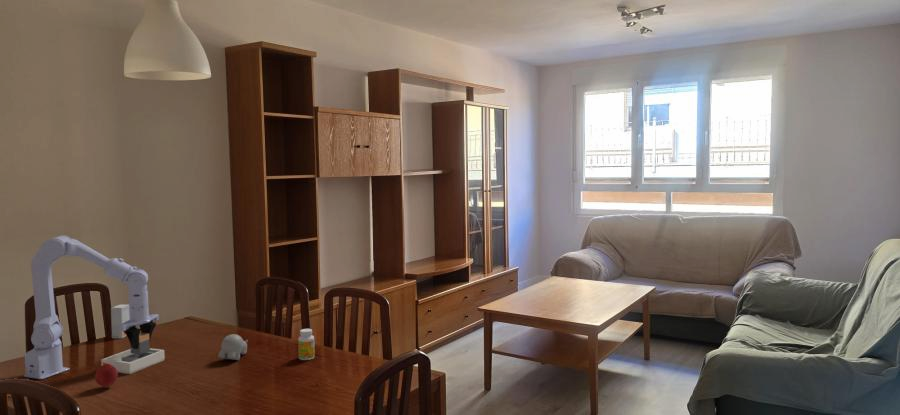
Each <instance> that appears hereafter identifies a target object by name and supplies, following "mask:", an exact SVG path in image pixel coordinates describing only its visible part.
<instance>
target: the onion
mask: <svg viewBox="0 0 900 415" xmlns="http://www.w3.org/2000/svg"><path fill="white" fill-rule="evenodd" d="M118 376H119V372H117V370H116V368H115V367H114V366H112V365H110V364H108V363H107V362H103V365H102V364H101V366H100V367H99V368H98V369H97V370H96V372H95V376H94V379H95V380H94V381H95V382H96V384H97V385H99V386H100V387H102V388H104V389H108V388H110V387H111V386H112V385H114V383H116V381H117V379H118Z"/></svg>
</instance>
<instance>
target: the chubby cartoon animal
mask: <svg viewBox="0 0 900 415" xmlns="http://www.w3.org/2000/svg"><path fill="white" fill-rule="evenodd" d="M248 341H249V340H248V339H246V340H243V338H242V336H241V335H239V334H236V333H235V334H234V333H233V334H228V335H227V336H225V337H224V338H223V340H222V342H221V350H220V351H219V352H218V355H217V357H218V358H219V359H223V360H224V359H225V360H228V361H229V360H233V361H240V359H241V355H242V356H243V355H246V353H247V352H248V350H247V349H248Z"/></svg>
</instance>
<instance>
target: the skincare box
mask: <svg viewBox="0 0 900 415" xmlns="http://www.w3.org/2000/svg"><path fill="white" fill-rule="evenodd" d="M110 316H111V317H110V321H111V338H112V339H123V338H125V337H127V336H126V334H125V333H124V332H123V331H119V325H120V324H122V323H124V322H126V321H128V320H130V317H129V304H124V303H123V304H122V303H121V304H120V303H119V304H118V305H115V306H114V307H110Z"/></svg>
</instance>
